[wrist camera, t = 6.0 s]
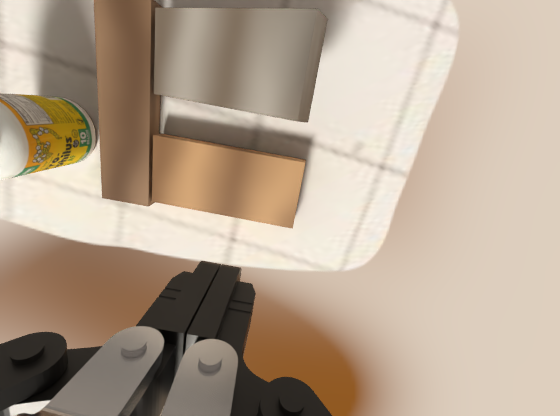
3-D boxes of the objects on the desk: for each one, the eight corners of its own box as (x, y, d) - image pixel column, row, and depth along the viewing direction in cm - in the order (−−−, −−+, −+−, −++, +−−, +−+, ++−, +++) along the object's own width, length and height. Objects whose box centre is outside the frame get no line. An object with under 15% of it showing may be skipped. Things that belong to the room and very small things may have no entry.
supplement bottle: (59, 82, 23) (-102, 62, 14) (111, 133, 24) (-6, 146, 15) (25, 128, 24) (-141, 138, 15) (76, 175, 25) (-51, 210, 16)
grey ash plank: (170, 96, 22) (153, 93, 21) (173, 15, 20) (155, 7, 19) (307, 122, 17) (297, 121, 16) (327, 19, 15) (317, 8, 14)
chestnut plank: (160, 196, 25) (151, 201, 24) (162, 133, 23) (153, 134, 22) (293, 221, 25) (292, 228, 23) (305, 159, 23) (305, 162, 21)
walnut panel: (114, 192, 25) (102, 197, 24) (108, -3, 21) (93, -12, 19) (157, 200, 25) (148, 206, 24) (162, 6, 20) (151, -2, 19)
